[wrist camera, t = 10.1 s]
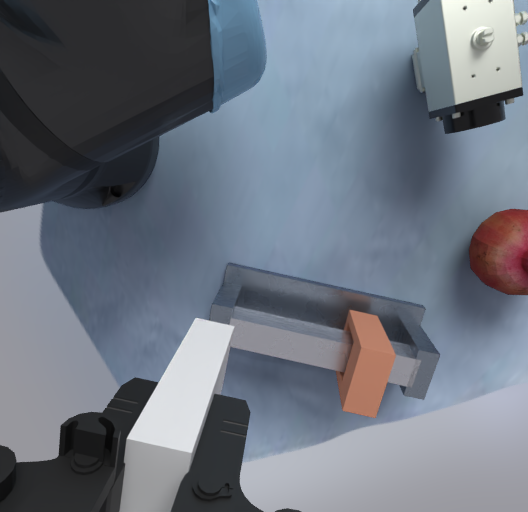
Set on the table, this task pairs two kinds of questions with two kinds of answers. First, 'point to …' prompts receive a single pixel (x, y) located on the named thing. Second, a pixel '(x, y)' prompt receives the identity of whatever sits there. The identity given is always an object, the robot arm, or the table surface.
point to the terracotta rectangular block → (365, 365)
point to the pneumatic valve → (468, 59)
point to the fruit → (502, 252)
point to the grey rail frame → (320, 323)
